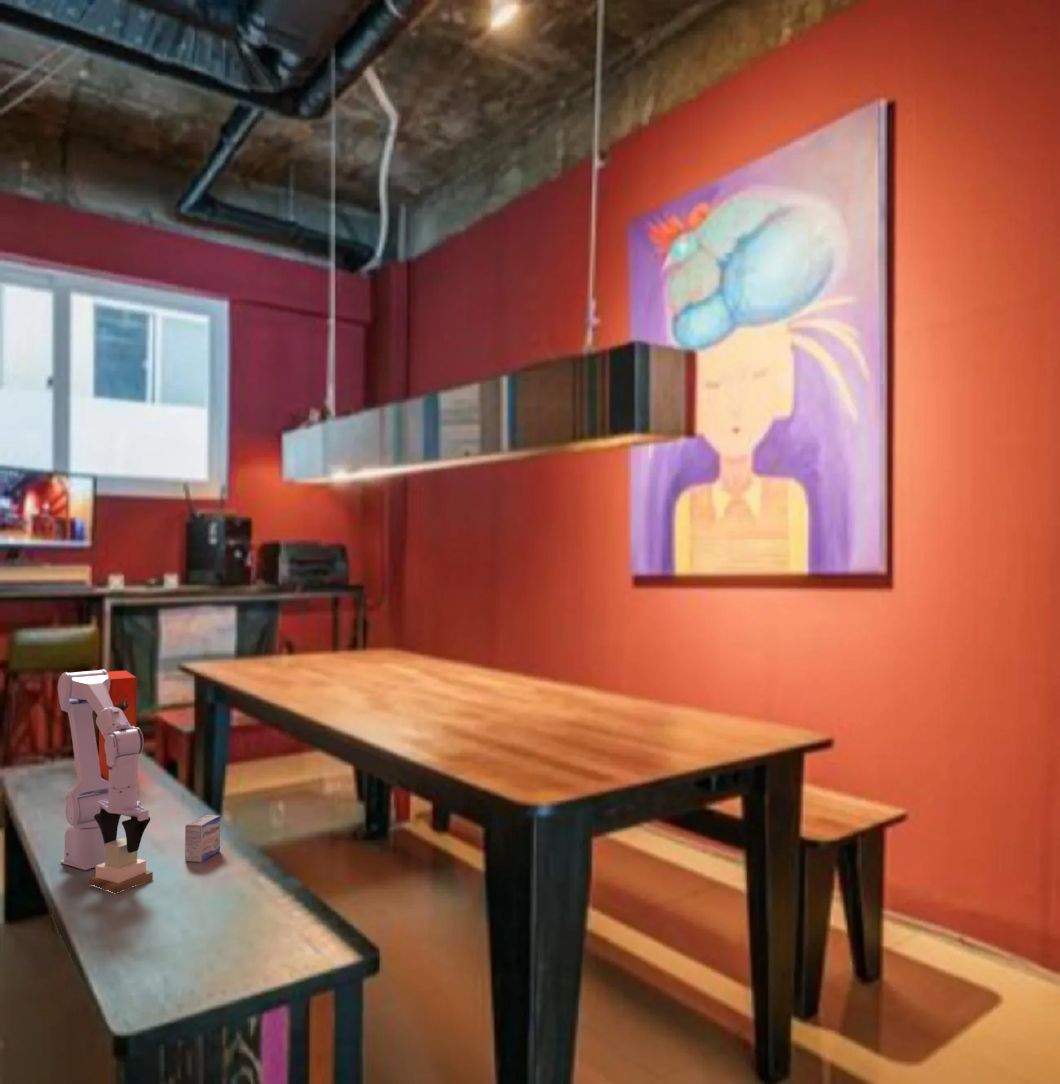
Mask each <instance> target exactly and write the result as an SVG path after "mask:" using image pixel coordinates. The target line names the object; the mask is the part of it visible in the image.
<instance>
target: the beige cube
mask: <svg viewBox="0 0 1060 1084" xmlns="http://www.w3.org/2000/svg"><path fill="white" fill-rule="evenodd" d="M137 859H138V850H137V851H135V852H132V853H128V851H127V840H126V837H121V838H119V839H116V840H115V841H112V842H109V843H106V844H105V865H109V866H112V867H116V868H121V867H124V866H126V865H129V864H132V863H135V862H137Z"/></svg>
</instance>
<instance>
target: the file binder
mask: <svg viewBox="0 0 1060 1084" xmlns="http://www.w3.org/2000/svg"><path fill="white" fill-rule="evenodd" d="M107 672H108V674H109V677H110V688H109V692H108V693H109V696H110V698H111V701H112V703H113V706H114V707H117V708H120V709H121V710H122V712H123V713H124V715H125V717H126V718H127V720H128V722H129V724H130V725H131V726H135V727H137V704H138V703H137V698H138V697H137V696H138V695H137V692H138V691H137V689H138V686H137V685H138V678H137V676H135V675H134V674H132V673H131V672H129V671H127V670H115V671H107ZM98 730H99V729H98ZM98 733H99V734H98V735H99V737H98V739H99V740H98V743H99V745H98V746H99V747H98V750H99V751H98V758H99V765H100V772H101V776H103V779H104V780H106V781H108V782H109V766H108V765H107V762H106V753H105V746H104V743H105V739H104V737H103V735H102V733H101V732H100V730H99V732H98Z"/></svg>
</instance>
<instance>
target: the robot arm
mask: <svg viewBox="0 0 1060 1084" xmlns="http://www.w3.org/2000/svg"><path fill="white" fill-rule="evenodd" d="M108 672H109V671H107V670H106V669H104V668H102V669H99V670H87V671H86V670H85V671H76V672H75V671H74V672H67V671H65V672H63V673H61V675H60V676H59V678H58V684H57V693H58V695H57V696H58V701H59V705H60V710H61V711H63V712H65V713H67V716H68V720H69V728H70V733H71V741H72V748H73V757H74V764H75V772H76V780H77V783H76V784H75V785H74V786H73V787H72V788H71V789H70V790H69V791H68V792H67V793H66V796H65V801H66V802H65V819H66V821H67V823H68V824H69V826H68V827H67V828H66V830H65V833H64V849H63V850H64V851H63V852H64V857H63V859H61V860H60V863H61V864H64V865H67V866H71V867H73V868H75V869H76V868H77V869H79V870H83V871H88V870H91V868H92V869H93V868H94V869H95V868H96V865H99V864H102V863H104V862H105V844H106V843H109V842H112V841H115V840H118V839H117V838H118V837H117V836H118V828H119V827H118V826H119V822H120V819H121V816H124V817H129V818H130V819H126V820H123V821H121V824H122V826H123V829H124V832H125V838H126V840H127V851H128V853H132V852H135V851H137V852H138V851H139V849H140V845H141V842H142V837H143V834H144V833H145V830H146V828H147V827H148V825H149V823H150V822H151V816H149V809H147V808H145V807H143V806H142V805H141V804H142V802H141V801H140V800H138V777H139V775H138V774H139V772H138V771H139V755H140V754H141V753H142V752H143V749H144V734H143V732H142V730H141V729H140V727H137V726H136V727H135V726H131V725H130V724H129V722H128V720H127V718H126V717H125V715H124V713H123V712H122V710H121V709H120V708H117V707H114V706H113V703H112V701H111V698H110V696H109V693H108V692H109V688H110V677H109V674H108ZM93 713H95V714H96V715H97V716H96V718H95V719H96V720H95V724H96V726H97V729H98V730H100V732H101V733H102V735H103V737H104V739H105V743H104V746H105V753H106V762H107V765H108V766H109V782H108V781H107V780H106V779H105V778H104V777H103V778H102V774H101V772H100V765H99V751H98V745H97V737H96V731H95V724H94V716H93Z"/></svg>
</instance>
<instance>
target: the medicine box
mask: <svg viewBox="0 0 1060 1084" xmlns="http://www.w3.org/2000/svg"><path fill="white" fill-rule="evenodd" d="M221 818H222V817H221V815H215V814H205V815H202V816H200V817H198V818H197V819H194V820H193V821H191V822H188V823H187V824H185V828H184V830H185V831H184V835H185V836H184V861H185V862H189V863H191V862H192V863H203V862H205V861H206V859H207V860H208V859H210V858H211V857H213V856H214V855H216V854H218V853H219V852H220V851H221ZM217 852H218V853H217ZM212 855H213V856H212ZM209 857H210V858H209ZM204 860H205V861H204Z"/></svg>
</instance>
